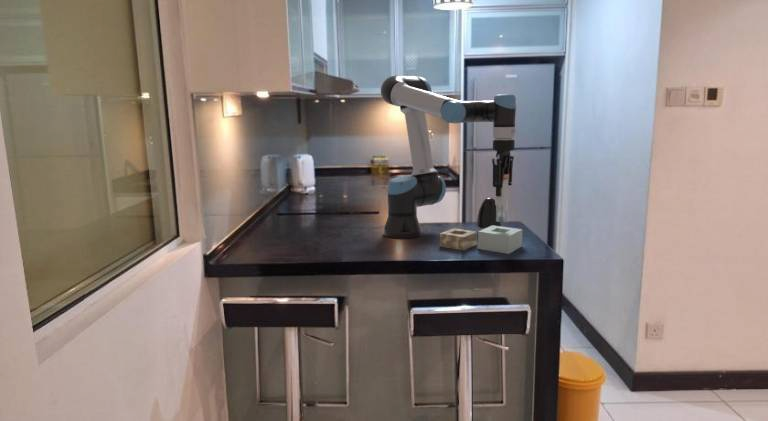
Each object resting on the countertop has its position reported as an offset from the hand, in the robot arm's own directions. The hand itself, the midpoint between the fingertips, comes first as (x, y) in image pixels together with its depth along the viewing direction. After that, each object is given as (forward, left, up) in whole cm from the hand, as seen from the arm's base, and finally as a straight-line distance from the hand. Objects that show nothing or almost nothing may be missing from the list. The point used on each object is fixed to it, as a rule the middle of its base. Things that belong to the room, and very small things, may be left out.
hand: (501, 203), depth 187 cm
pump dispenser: (-12, +16, -17) cm, 26 cm away
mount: (-14, -6, -16) cm, 22 cm away
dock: (0, 0, -16) cm, 16 cm away
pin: (0, 0, -6) cm, 6 cm away
